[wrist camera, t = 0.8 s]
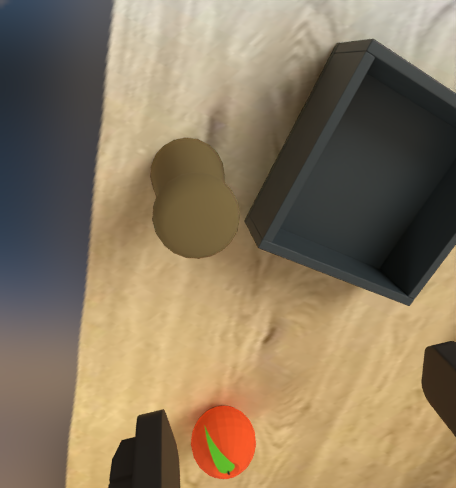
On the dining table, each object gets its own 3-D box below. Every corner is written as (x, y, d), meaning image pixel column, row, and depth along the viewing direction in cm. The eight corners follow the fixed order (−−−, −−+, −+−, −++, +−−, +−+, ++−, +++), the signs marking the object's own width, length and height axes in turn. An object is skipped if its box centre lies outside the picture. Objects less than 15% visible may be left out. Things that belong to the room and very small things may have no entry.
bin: (336, 42, 28) (373, 37, 23) (477, 131, 33) (532, 143, 28) (244, 221, 33) (257, 248, 28) (377, 275, 38) (409, 306, 33)
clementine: (172, 404, 41) (174, 465, 35) (227, 376, 41) (239, 433, 35) (207, 443, 45) (214, 504, 39) (258, 417, 44) (273, 476, 38)
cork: (134, 169, 30) (119, 220, 20) (194, 121, 29) (209, 150, 19) (182, 223, 32) (190, 292, 23) (238, 181, 32) (271, 233, 22)
